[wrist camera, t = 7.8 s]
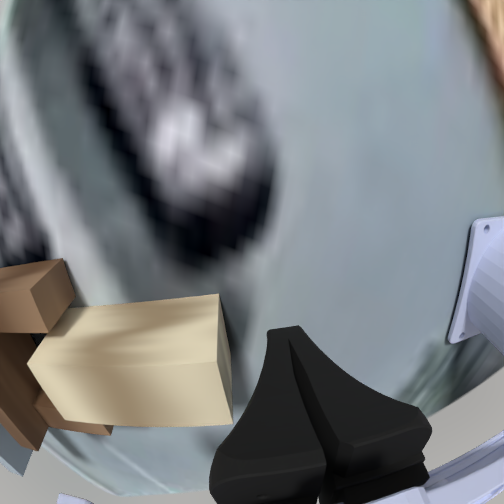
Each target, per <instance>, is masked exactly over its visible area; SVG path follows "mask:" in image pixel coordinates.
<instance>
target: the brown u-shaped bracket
mask: <svg viewBox="0 0 504 504" xmlns="http://www.w3.org/2000/svg"><path fill="white" fill-rule="evenodd" d="M75 297H76V296H75V293H74V290H73V287H72V285H71V282H70V279H69V276H68V273H67V270H66V267H65V264H64V261H63V258H61V259H55V260H48V261H42V262H35V263H29V264H23V265H17V266H11V267H5V268H0V423H1V424H2V426H3V427H4V428H5V429H6V430H7V431H8V433H9V434H10V435H11V436H12V437H13V438H14V439H15V440H16V441H17V442H18V444H19V445H20V446H21V447H25V448H28V449H31V450H35V451H39V449H40V446H41V444H42V441H43V439H44V437H45V434H46V432H47V429H48V427H53V428H58V429H64V430H70V431H76V432H83V433H91V434H100V435H109V436H111V433H112V430H113V426H114V425H105V424H94V423H85V422H76V421H69V420H65V419H64V418H63V417H62V415H61V414H60V413H59V411H58V410H57V409H56V407H55V406H54V404H53V403H52V402H51V400H50V399H49V397H48V396H47V394H46V393H45V391H44V390H43V388H42V387H41V385H40V384H39V382H38V381H37V379H36V378H35V376H34V375H33V373H32V371H31V370H30V368H29V366H28V365H27V363H28V361H29V360H30V358H31V357H32V355H33V354H34V352H35V351H36V349H37V347H36V345H35V343H34V341H33V339H32V337H31V335H30V333H49V332H50V331H51V329H52V328H53V326H54V325H55V324H56V322H57V321H58V320H59V318H60V317H61V315H62V314H63V313H64V311H65V310H66V309H67V308H68V306H69V305H70V304H71V302H72V301H73V300H74V298H75Z"/></svg>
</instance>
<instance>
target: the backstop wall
mask: <svg viewBox="0 0 504 504" xmlns="http://www.w3.org/2000/svg"><path fill="white" fill-rule="evenodd" d="M32 452H33V450H31V449H28V448H25V447H21V446H20V445H19V444H18V442H17V441H16V440H15V439H14V438H13V437H12V436H11V435H10V434H9V433H8V431H7V430H6V429H5V428H4V427H3V426H2V424H1V423H0V463H1V464H2V465H3V466H4V467H5V468H6V469H8V470H9V471H10V472H12V473H15V474H17V475H20V476H23V475H24V472H25V470H26V467H27V464H28V461H29V459H30V456H31V454H32Z"/></svg>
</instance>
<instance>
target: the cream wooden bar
mask: <svg viewBox="0 0 504 504" xmlns="http://www.w3.org/2000/svg"><path fill="white" fill-rule="evenodd" d="M27 365H28V366H29V368H30V370H31V371H32V373H33V375H34V376H35V378H36V379H37V381H38V382H39V384H40V385H41V387H42V388H43V390H44V391H45V393H46V394H47V396H48V397H49V399H50V400H51V402H52V403H53V404H54V406H55V407H56V409H57V410H58V411H59V413H60V414H61V415H62V417H63V418H64V419H65V420H69V421H76V422H85V423H94V424H105V425H118V426H139V427H192V426H212V425H226V424H233V406H232V378H231V354H230V349H229V344H228V339H227V334H226V329H225V323H224V318H223V313H222V308H221V302H220V297H219V294H213V295H204V296H195V297H186V298H177V299H168V300H158V301H148V302H137V303H126V304H115V305H103V306H91V307H78V308H67V309H66V310H65V311H64V313H63V314H62V315H61V317H60V318H59V320H58V321H57V322H56V324H55V325H54V326H53V328H52V329H51V331H50V332H49V333H47V335H46V336H45V338H44V339H43V340H42V342H41V343H40V345H39V346H38V348H37V349H36V351H35V352H34V354H33V355H32V357H31V358H30V360H29V361H28V363H27Z"/></svg>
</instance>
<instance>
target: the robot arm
mask: <svg viewBox="0 0 504 504" xmlns="http://www.w3.org/2000/svg"><path fill="white" fill-rule="evenodd" d="M484 227H485V229H484ZM480 333H482V334H483V335H484V336H485V337H486V338H487V339H488V340H489V341H490V342H491V343H492V344H493V345H494V346H495V347H496V348H497V349H498V350H499V351H500V352H501V353H502V355H503V356H504V216H500V217H491V218H482V219H477V220H475V221H474V222H473V224H472V227H471V234H470V241H469V248H468V254H467V260H466V265H465V270H464V275H463V280H462V285H461V289H460V294H459V298H458V302H457V306H456V310H455V314H454V317H453V321H452V324H451V328H450V331H449V335H448V341H449V342H450V343H452V344H453V343H457V342H459V341H462V340H465V339H467V338H470V337H472V336H475V335H478V334H480ZM431 434H432V427H431V425H430V424H429V422H428V420H427V418H426V417H425V415H424V414H423V413H422V412H421V410H420V409H419V408H418V407H415V406H412V405H409V404H406V403H403V402H400V401H397V400H394V399H392V398H390V397H387V396H385V395H383V394H381V393H379V392H377V391H375V390H373V389H371V388H369V387H368V386H366V385H364V384H362V383H361V382H359V381H358V380H356V379H355V378H353V377H352V376H350V375H349V374H348V373H346V372H345V371H344V370H342V369H341V368H340V367H339V366H338V365H336V364H335V363H334V362H333V361H332V360H331V359H330V358H329V357H327V356H326V355H325V354H324V353H323V352H322V351H321V350H320V349H319V348H318V347H317V346H316V344H315V343H314V342H313V341H312V340H311V339H310V338H309V337H308V335H307V334H306V333H305V332H304V330H303V329H302V328H301V327H300V326H299V325H298V326H292V327H285V328H278V329H271V330H269V331H268V332H267V349H266V355H265V360H264V364H263V368H262V371H261V374H260V378H259V381H258V383H257V386H256V388H255V391H254V393H253V395H252V397H251V399H250V401H249V403H248V405H247V407H246V409H245V411H244V413H243V414H242V416H241V418H240V419H239V421H238V422H237V424H236V425H235V427H234V428H233V430H232V431H231V433H230V434H229V435H228V436H227V438H226V439H225V440H224V441H223V442H222V444H221V445H220V446H219V447H218V449H217V451H216V453H215V456H214V459H213V462H212V466H211V470H210V476H209V490H210V494H211V495H212V497H213V498H214V500H215V501H216V503H217V504H316V503H317V499H318V497H319V503H320V504H485V503H486V502H488V501H489V500H491V499H492V498H493V497H495V496H496V495H498V494H499V493H500V492H502V491H503V490H504V430H503V431H502V432H500V433H499V434H497V435H495V436H494V437H492V438H491V439H489V440H488V441H486V442H484V443H483V444H481V445H479V446H478V447H476V448H474V449H472V450H471V451H469V452H467V453H465V454H464V455H462V456H460V457H458V458H456V459H454V460H452V461H450V462H449V463H446V464H444V465H442V466H440V467H438V468H436V469H434V470H431V471H429V472H427V470H426V468H425V466H424V463H423V462H424V460H425V457H424V455H423V453H422V450H423V448H424V447H425V445H426V443H427V442H428V440H429V438H430V436H431ZM57 504H94V503H92V502H90V501H88V500H85V499H83V498H79V497H75V496H71V495H67V494H63V493H59V496H58V500H57Z"/></svg>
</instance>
